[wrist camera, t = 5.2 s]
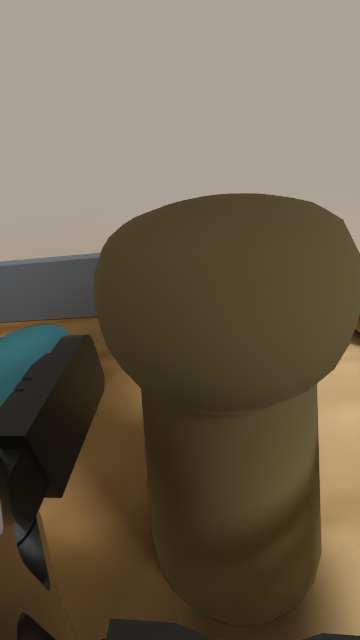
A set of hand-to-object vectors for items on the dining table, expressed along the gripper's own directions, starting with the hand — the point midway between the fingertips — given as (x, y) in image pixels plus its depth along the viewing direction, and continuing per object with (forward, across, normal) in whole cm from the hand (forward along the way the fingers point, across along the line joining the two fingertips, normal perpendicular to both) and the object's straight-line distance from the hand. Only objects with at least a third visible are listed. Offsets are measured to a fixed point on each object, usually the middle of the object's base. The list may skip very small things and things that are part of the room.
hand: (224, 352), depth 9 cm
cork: (-1, 0, +7) cm, 7 cm away
